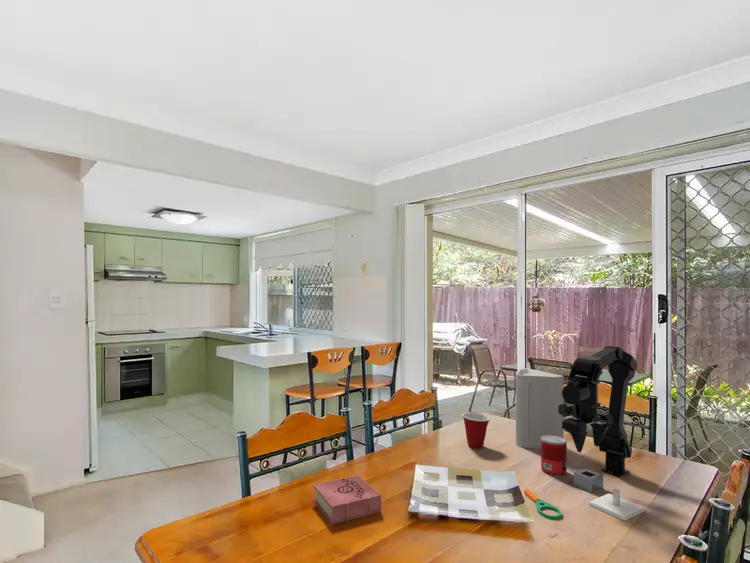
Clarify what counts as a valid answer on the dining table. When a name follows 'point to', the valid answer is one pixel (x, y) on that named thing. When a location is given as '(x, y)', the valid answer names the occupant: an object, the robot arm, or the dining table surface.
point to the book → (347, 499)
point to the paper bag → (538, 406)
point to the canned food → (553, 455)
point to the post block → (616, 506)
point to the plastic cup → (475, 429)
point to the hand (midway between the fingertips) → (587, 448)
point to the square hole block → (588, 480)
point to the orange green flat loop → (543, 506)
